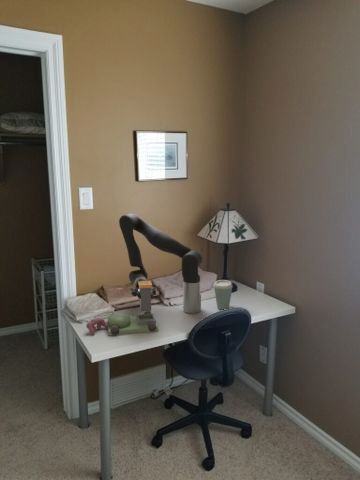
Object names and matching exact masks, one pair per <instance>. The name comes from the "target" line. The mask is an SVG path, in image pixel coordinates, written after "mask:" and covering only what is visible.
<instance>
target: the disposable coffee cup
mask: <svg viewBox="0 0 360 480" xmlns="http://www.w3.org/2000/svg"><path fill="white" fill-rule="evenodd" d="M213 288H214V289H213V290H214V295H215V301H216V302H215V303H216V307H217V309H218V310H222V311H224V310H223V309H226V310H228V309H229V308H230V303H231V297H232V290H233V284H232V281H230V280H228V279H219V280H216V281H215V282H214V284H213Z"/></svg>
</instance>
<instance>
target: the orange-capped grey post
mask: <svg viewBox="0 0 360 480" xmlns="http://www.w3.org/2000/svg"><path fill="white" fill-rule="evenodd" d="M138 285H139V288H140V294H141V299H139V310H140V312H141V313H142V312H144V313H145V312H146V311H150V312H152V298H151V288H153V284H152V281H151V280H147V281H138Z"/></svg>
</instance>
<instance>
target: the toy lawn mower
mask: <svg viewBox="0 0 360 480" xmlns="http://www.w3.org/2000/svg"><path fill="white" fill-rule="evenodd" d="M107 325H108V329H107V330H108V336H117V335H127V334H128V335H129V334H137V333H147V332H158V331H159V325H158V321H157V319H156V317H155V314H154V312H153V313H152V311H145V312H144V313H142V314H136V315H129V314H126V313H111V314H110V315H109V316H108V317H107Z"/></svg>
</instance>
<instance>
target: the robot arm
mask: <svg viewBox="0 0 360 480" xmlns="http://www.w3.org/2000/svg"><path fill="white" fill-rule="evenodd" d="M118 223H119V227H120V230H121V233H122V237H123V240H124V242H125V246H126V250H127V254H128V259H129V260H128V261H129V265H130V266H131V267H133V268H134V267H135V268H139V269H136V270H132V271H130V272H129V275H128V279H129V282H131V284H133V286H134V288H130V291H129V292H130V294H131V296H132V297H137V299H139V300H140V299H141V294H140V288H139V285H138V281H148V273H147V269H146V268H145V266H144V264H143V259H142V254H141V250H140V248H139V246H138V244H137V241H136V239H135V236H134V231H136V233H137V232H138V233H140V234H141V235H143V236H144V237H145V239H146V240H147V242H148V243H149V244H151V245H152V246H153V247H155V248H156V249H158V250H159V251H162V252H164V253H167V254H171V255H175V256H177V257H179V258H180V259H181V276H182V279H183V281H182V282H183V284H182V287H183V289H182V291H183V292H182V295H183V297H182V304H183V305H182V308H183V310H182V311H183V312H184V313H186V314H197V313H200V312H201V311H202V295H201V276H200V274H199V266H201V264H202V262H203V257H202V256H203V255H202V254H201V253H200V252H199V251H198V250H195V249H193V248H190V247H189V246H186V245H185V244H183V243H181V242H179V241H178V240H176V239H175V238H173V237H171V236H170V235H169V234H167V233H165V232H163V231H162V230H160V229H158V228H156V227H155V226H153V225H150V224H149V223H148V222H147V221H145V220H144V219H143V218H141V217H140V216H139V215H137V214H135V213H131V212H130V213H127V214H123V215H122V216H120V218H119V220H118ZM156 295H157V286H154V287H152V288H151V299H153V298H154V296H156Z"/></svg>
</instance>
